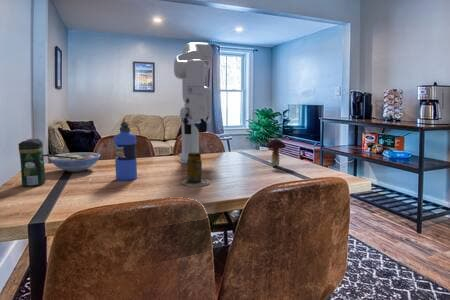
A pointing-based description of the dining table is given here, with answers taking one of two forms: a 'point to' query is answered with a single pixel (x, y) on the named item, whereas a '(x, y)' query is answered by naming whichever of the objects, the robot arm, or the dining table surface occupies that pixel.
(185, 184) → the coaster
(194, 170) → the condiment
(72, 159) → the ramen bowl
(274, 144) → the decorative mushroom
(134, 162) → the water bottle
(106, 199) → the dining table surface
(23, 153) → the coffee jar
